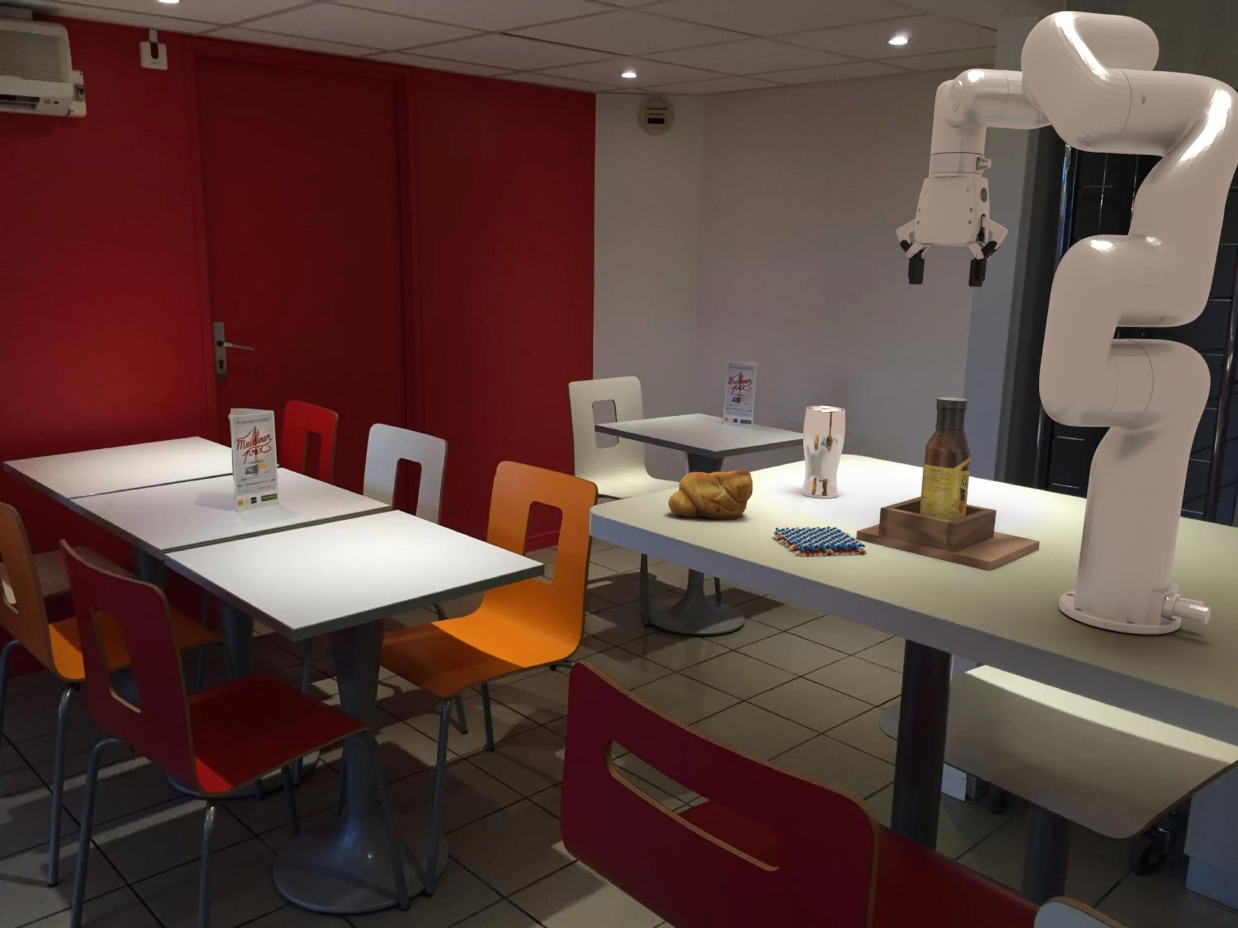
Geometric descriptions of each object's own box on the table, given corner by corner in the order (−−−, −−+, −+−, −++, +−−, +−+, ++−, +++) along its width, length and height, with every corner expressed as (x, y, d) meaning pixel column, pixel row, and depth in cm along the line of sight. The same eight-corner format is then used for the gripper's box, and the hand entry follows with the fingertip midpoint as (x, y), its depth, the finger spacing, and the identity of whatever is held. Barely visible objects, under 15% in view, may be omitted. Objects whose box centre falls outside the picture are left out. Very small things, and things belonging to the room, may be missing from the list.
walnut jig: (1038, 549, 144) (1042, 513, 143) (989, 570, 132) (993, 532, 131) (910, 521, 157) (913, 489, 156) (856, 538, 146) (859, 503, 145)
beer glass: (791, 491, 176) (796, 406, 173) (824, 488, 179) (830, 405, 176) (814, 500, 170) (821, 412, 167) (848, 497, 173) (855, 410, 170)
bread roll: (671, 522, 153) (673, 470, 151) (662, 507, 162) (664, 458, 161) (755, 522, 154) (758, 471, 152) (740, 507, 163) (743, 459, 162)
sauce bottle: (966, 544, 140) (980, 402, 136) (919, 541, 141) (932, 400, 138) (959, 533, 147) (973, 397, 143) (915, 529, 148) (927, 394, 144)
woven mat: (835, 537, 148) (837, 524, 148) (868, 558, 138) (869, 544, 138) (768, 539, 146) (769, 526, 146) (797, 560, 136) (798, 546, 136)
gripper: (1023, 168, 147) (1011, 288, 150) (914, 173, 158) (905, 283, 162) (1001, 163, 141) (988, 287, 145) (890, 169, 153) (881, 283, 156)
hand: (944, 285), depth 153 cm, fingers open, 9 cm apart
